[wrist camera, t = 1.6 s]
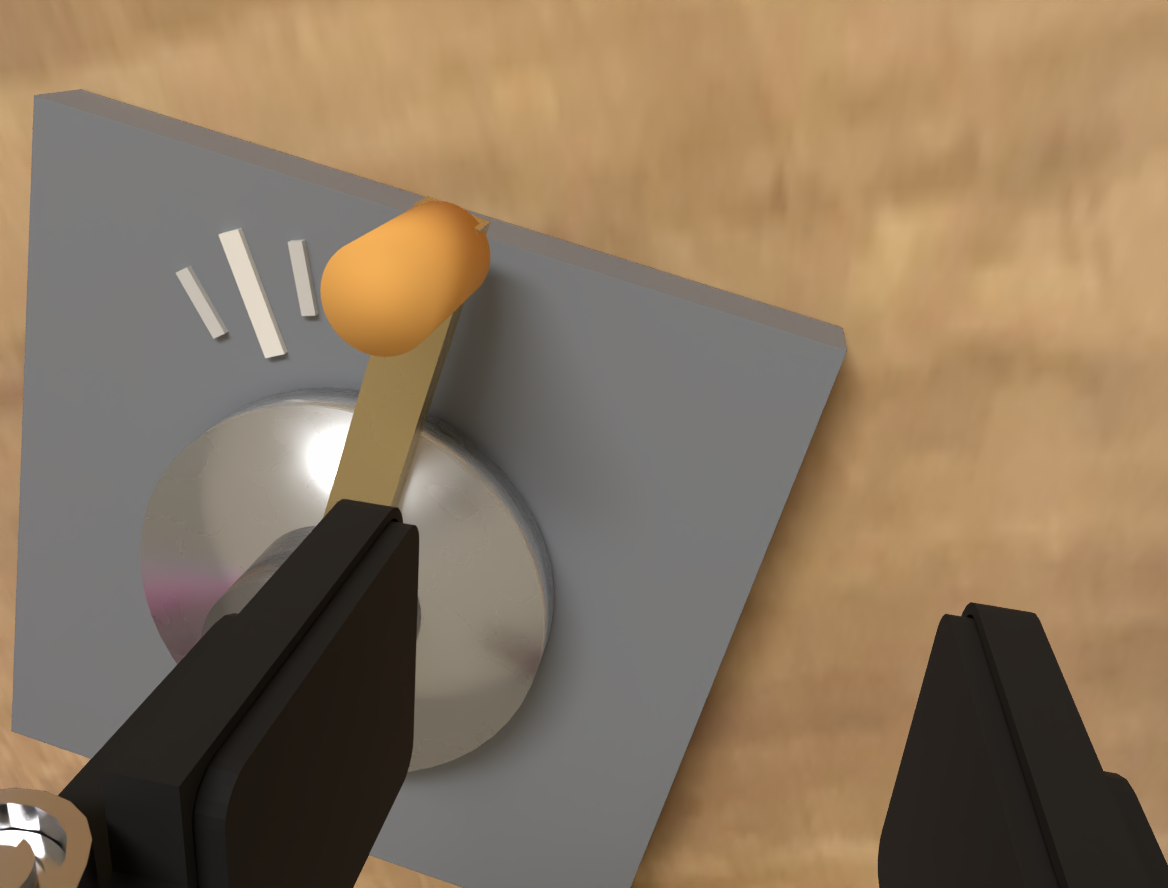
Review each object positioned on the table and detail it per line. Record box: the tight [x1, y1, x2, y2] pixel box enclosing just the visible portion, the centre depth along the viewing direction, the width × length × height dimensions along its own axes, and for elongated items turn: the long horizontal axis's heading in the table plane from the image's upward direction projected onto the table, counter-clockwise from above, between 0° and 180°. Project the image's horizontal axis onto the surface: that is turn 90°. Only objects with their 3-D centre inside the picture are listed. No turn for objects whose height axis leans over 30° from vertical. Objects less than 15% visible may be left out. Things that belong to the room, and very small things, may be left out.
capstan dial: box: [140, 196, 554, 772], centre depth 27 cm, size 18×12×6 cm, turn 160°
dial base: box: [11, 89, 847, 888], centre depth 32 cm, size 22×22×2 cm
